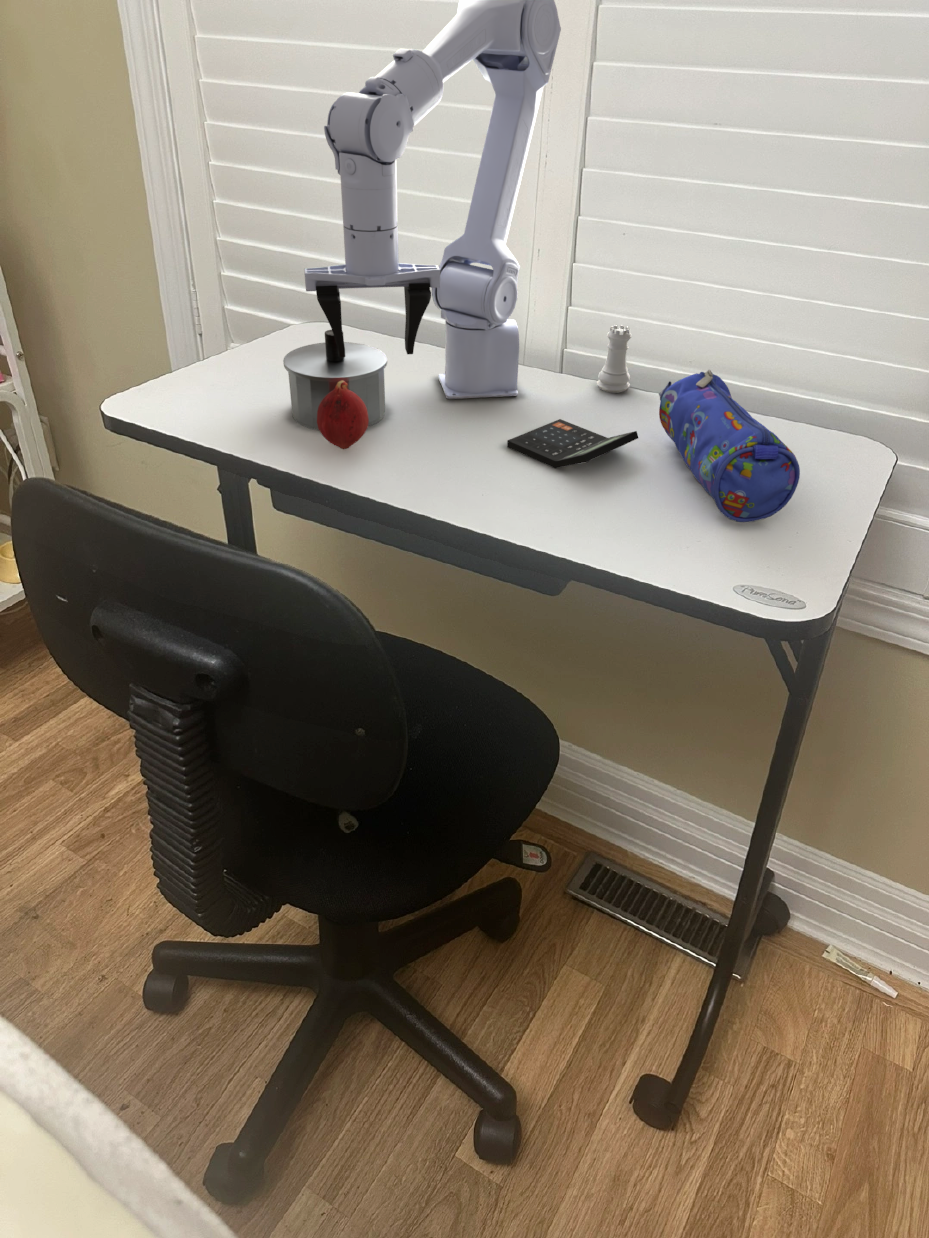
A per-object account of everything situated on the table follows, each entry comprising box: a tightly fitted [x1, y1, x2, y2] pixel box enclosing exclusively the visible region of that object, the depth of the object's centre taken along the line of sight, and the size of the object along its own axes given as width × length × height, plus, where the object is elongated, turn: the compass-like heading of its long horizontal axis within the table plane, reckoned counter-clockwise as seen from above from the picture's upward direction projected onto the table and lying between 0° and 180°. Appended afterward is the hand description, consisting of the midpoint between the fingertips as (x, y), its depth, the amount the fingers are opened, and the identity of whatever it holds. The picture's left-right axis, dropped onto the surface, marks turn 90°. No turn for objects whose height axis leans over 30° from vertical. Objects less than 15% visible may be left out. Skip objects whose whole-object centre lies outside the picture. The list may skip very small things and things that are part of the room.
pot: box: [287, 368, 386, 431], centre depth 110 cm, size 11×11×6 cm
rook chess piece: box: [596, 324, 633, 394], centre depth 119 cm, size 4×4×8 cm
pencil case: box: [658, 369, 801, 523], centre depth 97 cm, size 22×9×10 cm, turn 6°
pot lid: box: [282, 329, 388, 382], centre depth 108 cm, size 12×12×4 cm
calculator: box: [506, 418, 639, 469], centre depth 104 cm, size 9×12×3 cm
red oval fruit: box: [317, 380, 369, 450], centre depth 102 cm, size 6×6×8 cm
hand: (375, 352), depth 103 cm, fingers open, 7 cm apart
